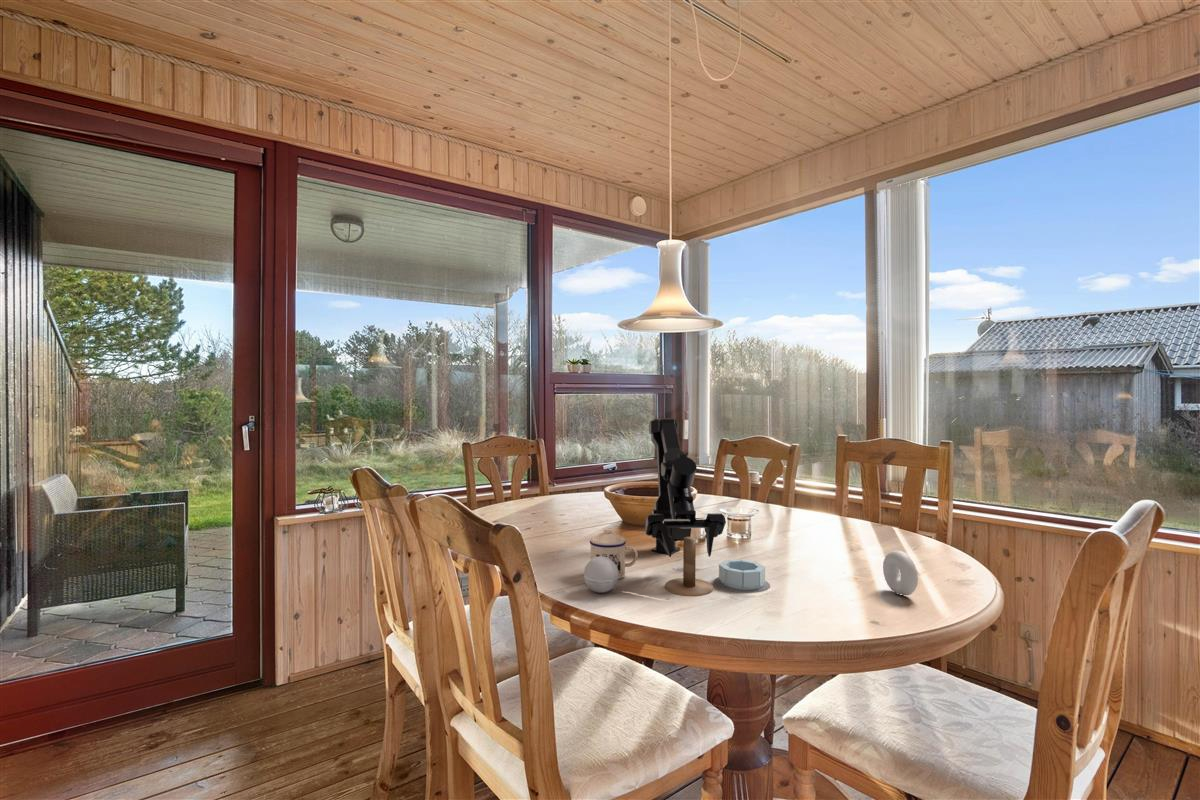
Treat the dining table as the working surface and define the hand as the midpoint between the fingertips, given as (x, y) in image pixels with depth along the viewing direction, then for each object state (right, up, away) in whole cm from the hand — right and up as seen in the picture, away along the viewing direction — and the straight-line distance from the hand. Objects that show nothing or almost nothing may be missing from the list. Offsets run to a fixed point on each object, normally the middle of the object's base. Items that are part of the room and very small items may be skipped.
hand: (690, 555), depth 131 cm
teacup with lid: (-17, -8, +11) cm, 22 cm away
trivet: (+13, -8, +4) cm, 16 cm away
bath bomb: (-21, -8, -1) cm, 22 cm away
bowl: (+13, -8, +4) cm, 16 cm away
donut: (+47, -8, -2) cm, 48 cm away
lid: (0, -8, +1) cm, 8 cm away
